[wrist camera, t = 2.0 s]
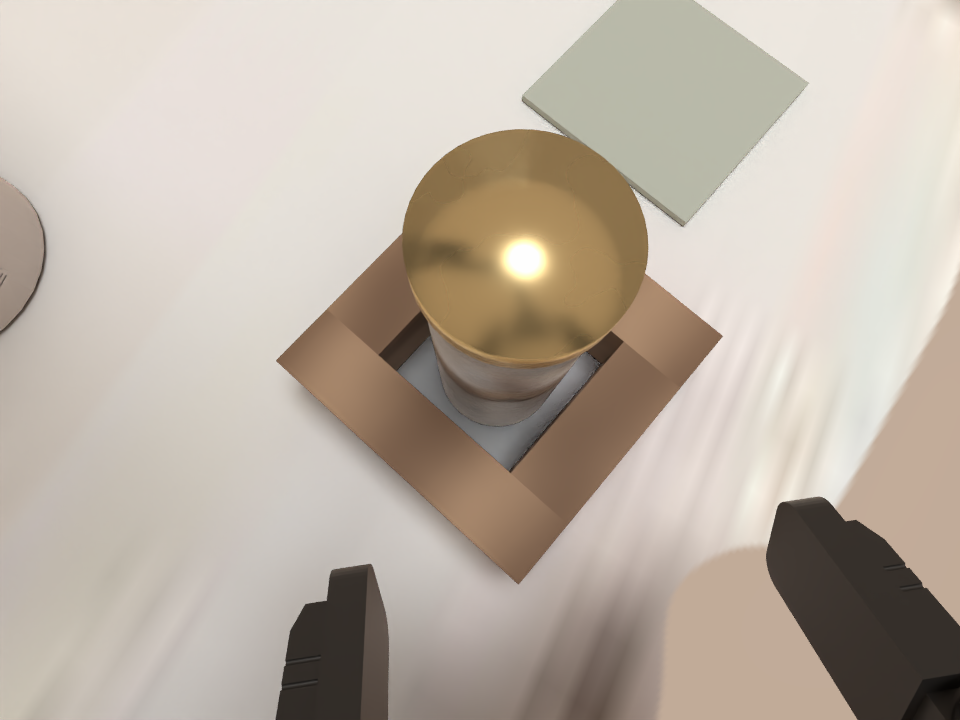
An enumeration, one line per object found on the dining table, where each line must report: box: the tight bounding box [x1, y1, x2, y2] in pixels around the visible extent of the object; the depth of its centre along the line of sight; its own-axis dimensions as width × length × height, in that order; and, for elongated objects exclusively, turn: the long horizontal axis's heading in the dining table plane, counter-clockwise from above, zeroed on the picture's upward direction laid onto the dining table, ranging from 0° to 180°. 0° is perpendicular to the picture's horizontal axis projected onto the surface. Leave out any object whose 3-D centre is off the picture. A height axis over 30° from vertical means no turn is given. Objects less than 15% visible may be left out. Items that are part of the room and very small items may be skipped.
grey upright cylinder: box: [402, 129, 648, 426], centre depth 20 cm, size 5×5×14 cm
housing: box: [276, 233, 723, 585], centre depth 25 cm, size 12×12×4 cm
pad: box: [522, 0, 808, 226], centre depth 30 cm, size 10×10×1 cm
